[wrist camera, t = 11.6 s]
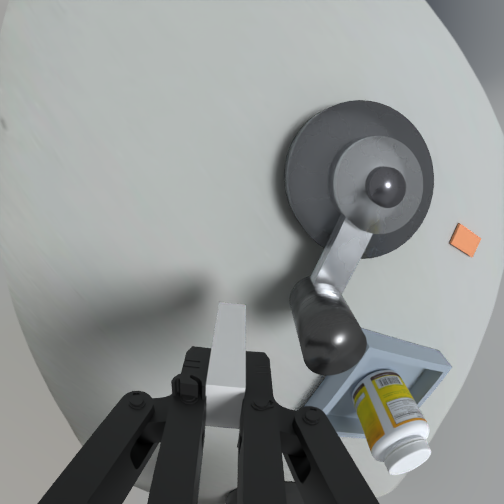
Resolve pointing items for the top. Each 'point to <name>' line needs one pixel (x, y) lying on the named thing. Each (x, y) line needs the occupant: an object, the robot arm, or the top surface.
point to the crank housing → (322, 153)
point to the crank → (352, 245)
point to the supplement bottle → (391, 421)
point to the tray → (376, 359)
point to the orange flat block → (465, 240)
